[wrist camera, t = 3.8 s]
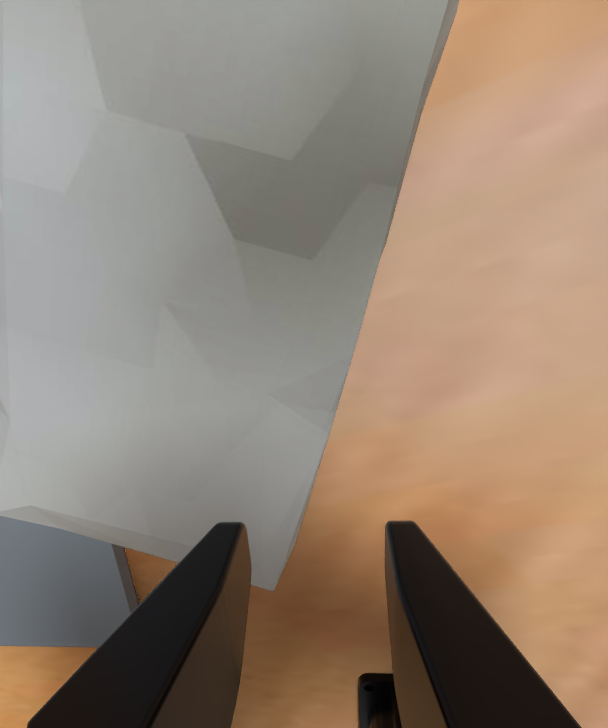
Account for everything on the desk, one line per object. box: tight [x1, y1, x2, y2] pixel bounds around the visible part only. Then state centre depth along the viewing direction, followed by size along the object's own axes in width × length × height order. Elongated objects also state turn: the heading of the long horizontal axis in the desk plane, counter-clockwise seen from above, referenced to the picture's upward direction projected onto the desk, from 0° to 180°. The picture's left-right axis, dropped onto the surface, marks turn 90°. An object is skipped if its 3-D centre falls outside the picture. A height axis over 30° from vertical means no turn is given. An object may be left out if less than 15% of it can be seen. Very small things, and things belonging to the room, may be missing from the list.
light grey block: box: [0, 0, 459, 592], centre depth 15 cm, size 18×5×10 cm
